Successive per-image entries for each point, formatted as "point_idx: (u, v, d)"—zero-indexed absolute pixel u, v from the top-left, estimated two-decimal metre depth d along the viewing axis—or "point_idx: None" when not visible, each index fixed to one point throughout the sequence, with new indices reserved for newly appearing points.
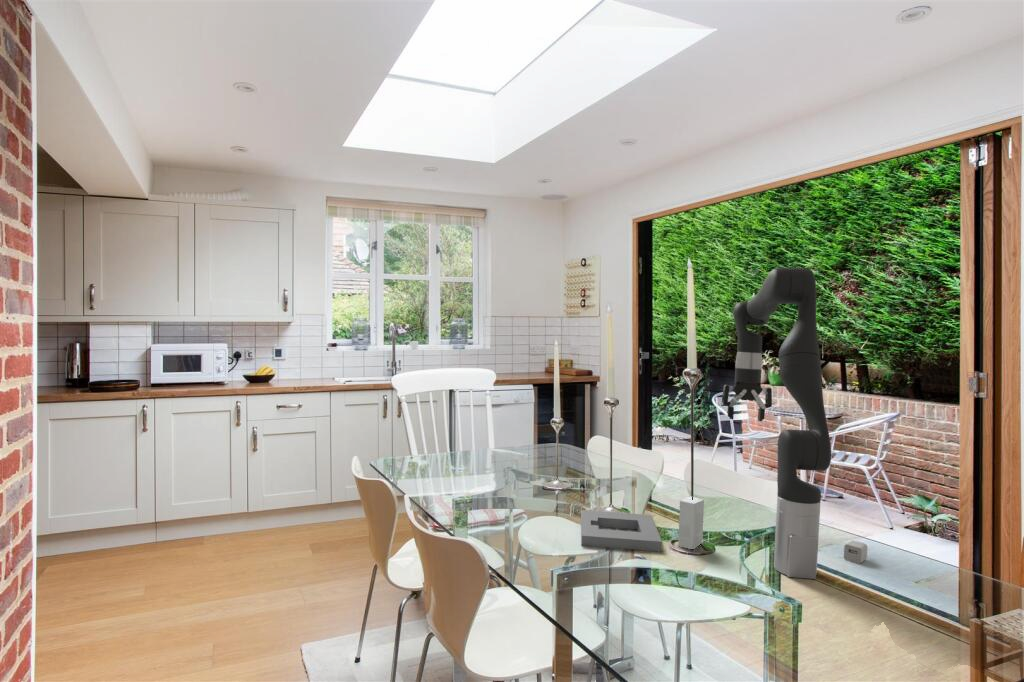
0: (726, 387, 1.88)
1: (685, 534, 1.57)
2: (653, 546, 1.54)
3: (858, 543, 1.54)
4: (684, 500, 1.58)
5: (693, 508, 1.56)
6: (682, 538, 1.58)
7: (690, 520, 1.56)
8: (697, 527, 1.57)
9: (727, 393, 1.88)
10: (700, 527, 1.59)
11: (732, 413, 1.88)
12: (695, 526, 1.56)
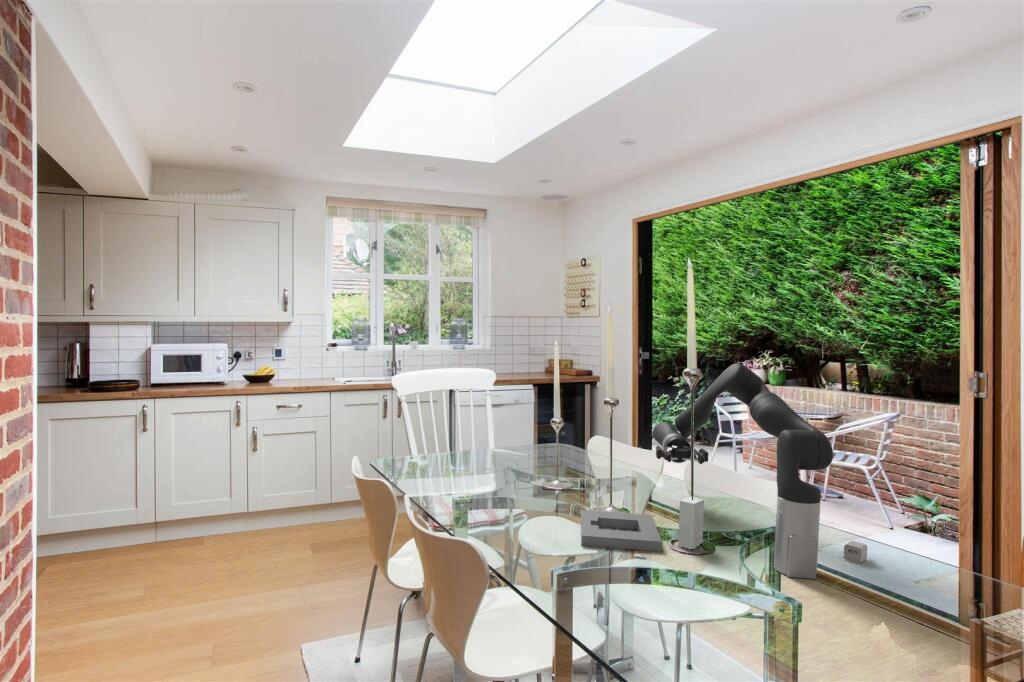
0: (657, 446, 1.80)
1: (684, 534, 1.57)
2: (653, 546, 1.54)
3: (858, 543, 1.54)
4: (684, 500, 1.58)
5: (693, 508, 1.56)
6: (682, 538, 1.58)
7: (690, 520, 1.56)
8: (697, 527, 1.57)
9: (659, 447, 1.78)
10: (700, 527, 1.59)
11: (669, 453, 1.72)
12: (695, 526, 1.56)
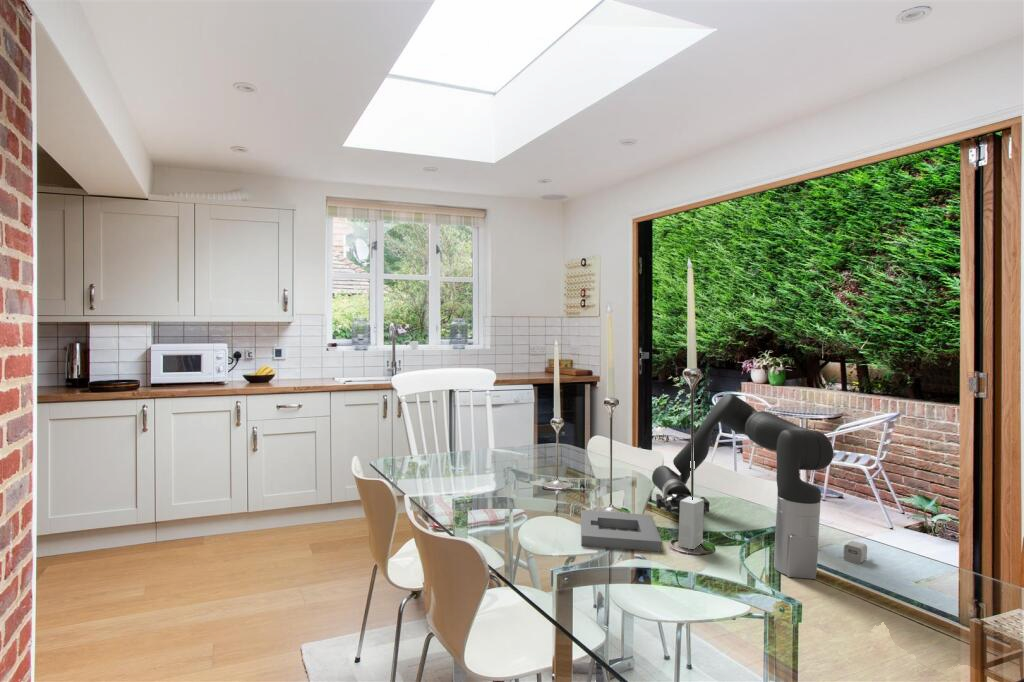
0: (657, 494, 1.77)
1: (684, 534, 1.57)
2: (653, 546, 1.54)
3: (858, 543, 1.54)
4: (684, 500, 1.58)
5: (693, 508, 1.56)
6: (682, 538, 1.58)
7: (690, 520, 1.56)
8: (697, 527, 1.57)
9: (659, 496, 1.75)
10: (700, 527, 1.59)
11: (669, 503, 1.69)
12: (695, 526, 1.56)
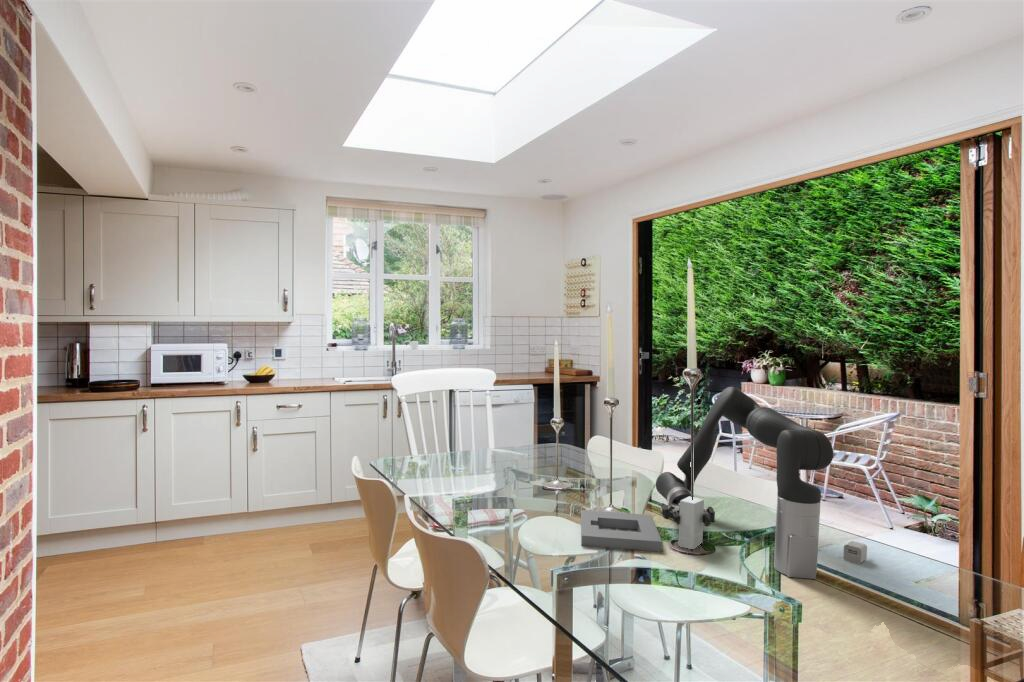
0: (662, 504, 1.67)
1: (684, 534, 1.57)
2: (653, 546, 1.54)
3: (858, 543, 1.54)
4: (684, 500, 1.58)
5: (693, 508, 1.56)
6: (682, 538, 1.58)
7: (689, 520, 1.56)
8: (697, 527, 1.57)
9: (665, 506, 1.65)
10: (700, 527, 1.59)
11: (677, 514, 1.59)
12: (695, 526, 1.56)
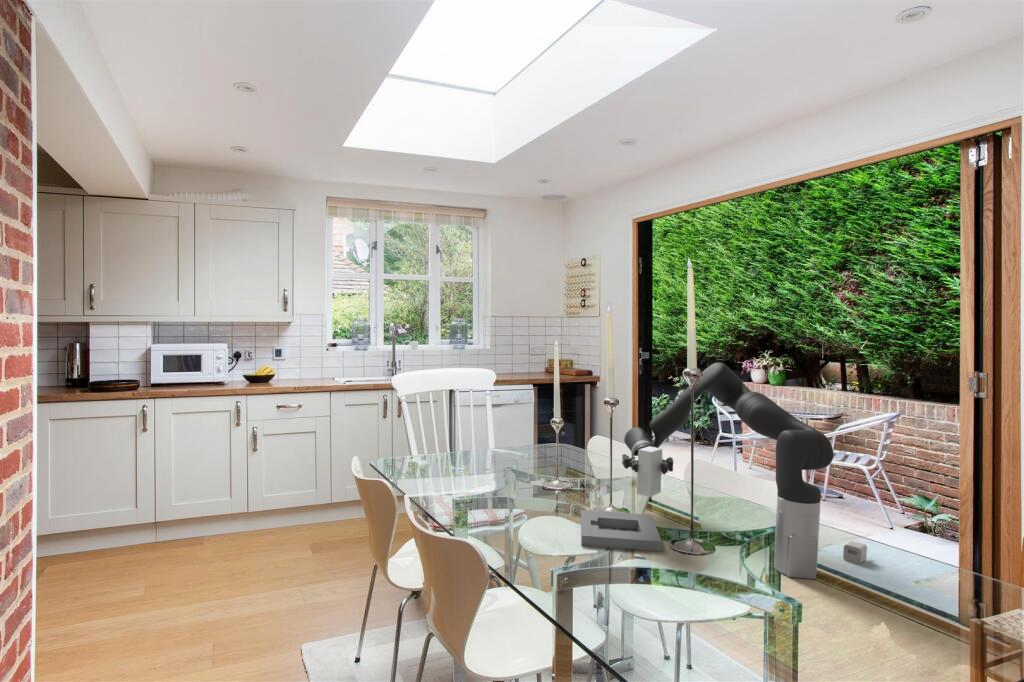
0: (623, 455, 1.72)
1: (642, 481, 1.62)
2: (653, 546, 1.54)
3: (857, 544, 1.54)
4: (642, 449, 1.63)
5: (650, 456, 1.60)
6: (640, 486, 1.62)
7: (647, 468, 1.61)
8: (655, 475, 1.62)
9: (626, 456, 1.70)
10: (658, 475, 1.63)
11: (636, 462, 1.64)
12: (652, 473, 1.61)
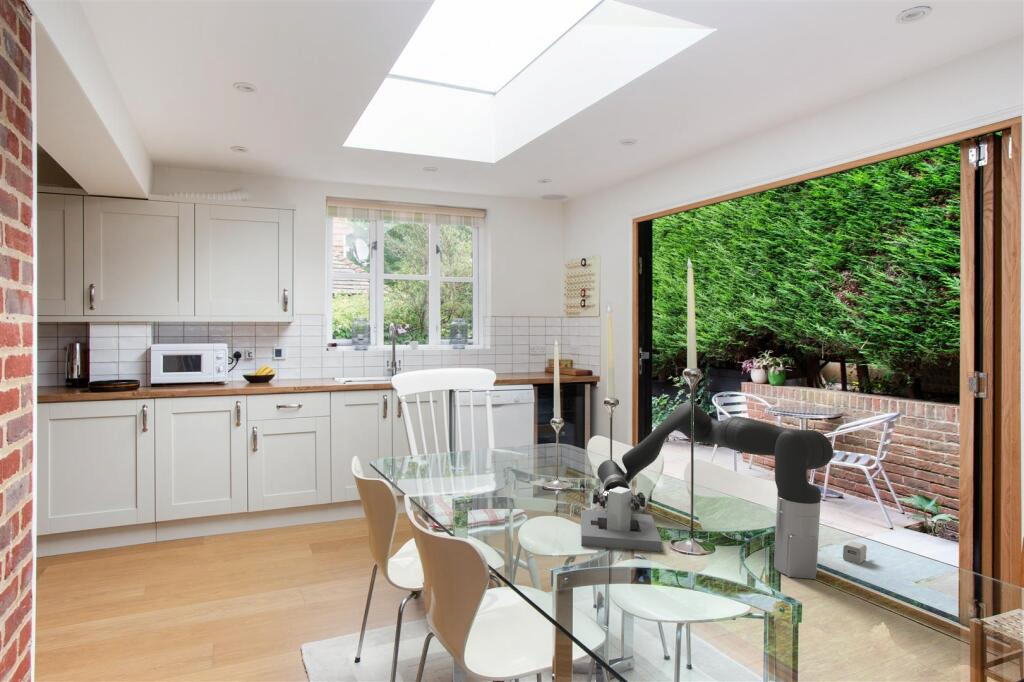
0: (594, 489, 1.74)
1: (612, 522, 1.64)
2: (653, 546, 1.54)
3: (857, 544, 1.54)
4: (612, 490, 1.65)
5: (620, 497, 1.62)
6: (610, 526, 1.64)
7: (617, 509, 1.63)
8: (624, 516, 1.64)
9: (596, 491, 1.72)
10: (627, 515, 1.66)
11: (603, 498, 1.66)
12: (622, 514, 1.63)
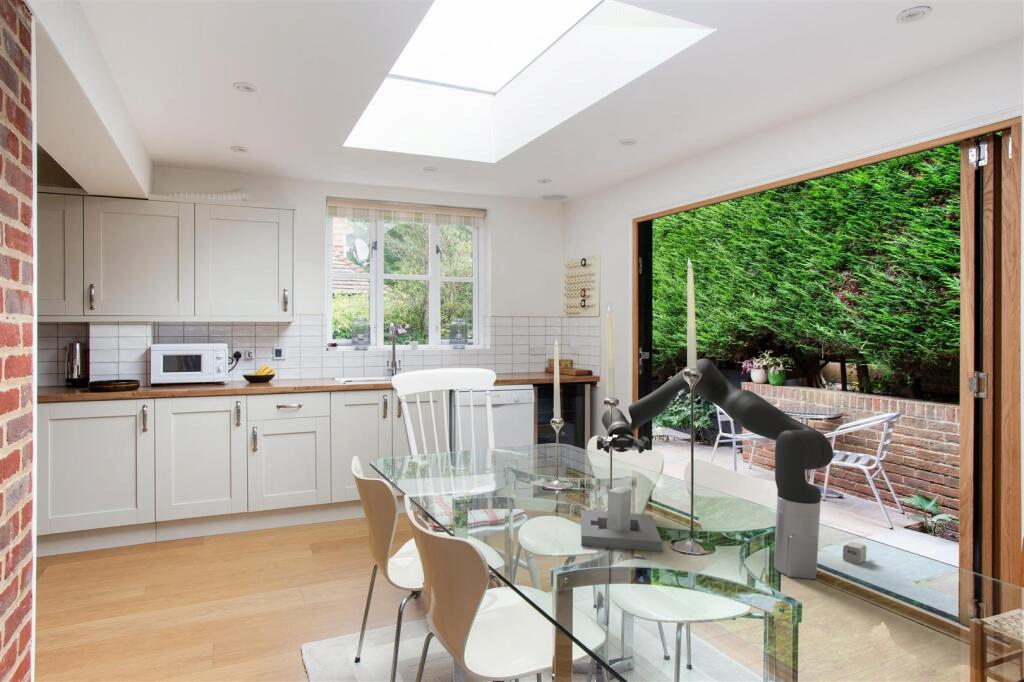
0: (598, 436, 1.74)
1: (612, 522, 1.64)
2: (653, 546, 1.54)
3: (857, 544, 1.54)
4: (612, 490, 1.65)
5: (620, 497, 1.62)
6: (609, 526, 1.64)
7: (617, 509, 1.63)
8: (624, 516, 1.64)
9: (600, 438, 1.72)
10: (627, 515, 1.66)
11: (607, 443, 1.66)
12: (622, 514, 1.63)
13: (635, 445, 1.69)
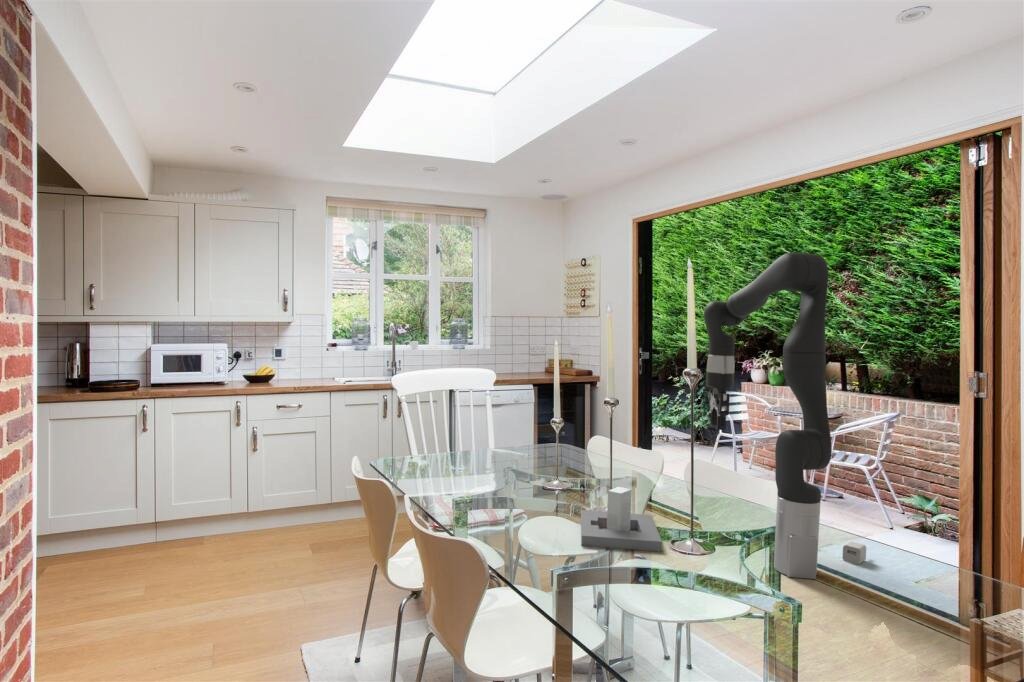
0: (710, 391, 1.84)
1: (612, 522, 1.64)
2: (653, 546, 1.54)
3: (857, 544, 1.54)
4: (612, 490, 1.65)
5: (620, 497, 1.62)
6: (609, 526, 1.64)
7: (617, 509, 1.63)
8: (624, 516, 1.64)
9: (710, 397, 1.83)
10: (627, 515, 1.66)
11: None
12: (621, 514, 1.63)
13: (722, 409, 1.74)
